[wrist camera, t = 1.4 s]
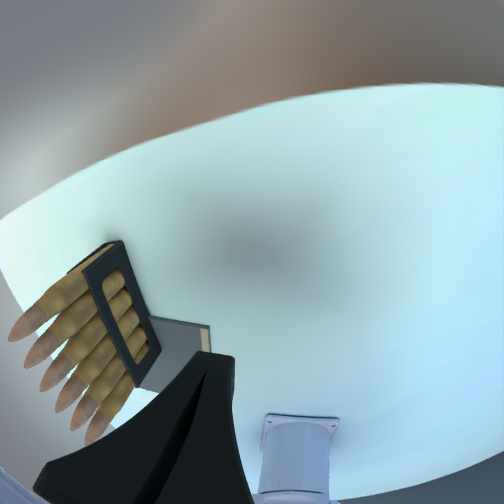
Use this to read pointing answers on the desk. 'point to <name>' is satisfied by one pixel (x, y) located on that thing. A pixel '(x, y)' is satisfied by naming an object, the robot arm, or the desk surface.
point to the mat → (174, 350)
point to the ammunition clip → (93, 337)
